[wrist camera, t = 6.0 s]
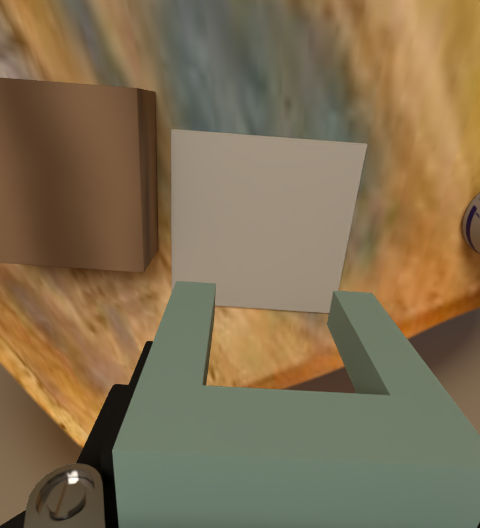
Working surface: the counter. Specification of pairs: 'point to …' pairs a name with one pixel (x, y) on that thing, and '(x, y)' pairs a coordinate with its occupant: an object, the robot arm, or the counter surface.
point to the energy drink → (472, 224)
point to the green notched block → (294, 435)
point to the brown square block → (77, 175)
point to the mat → (262, 216)
